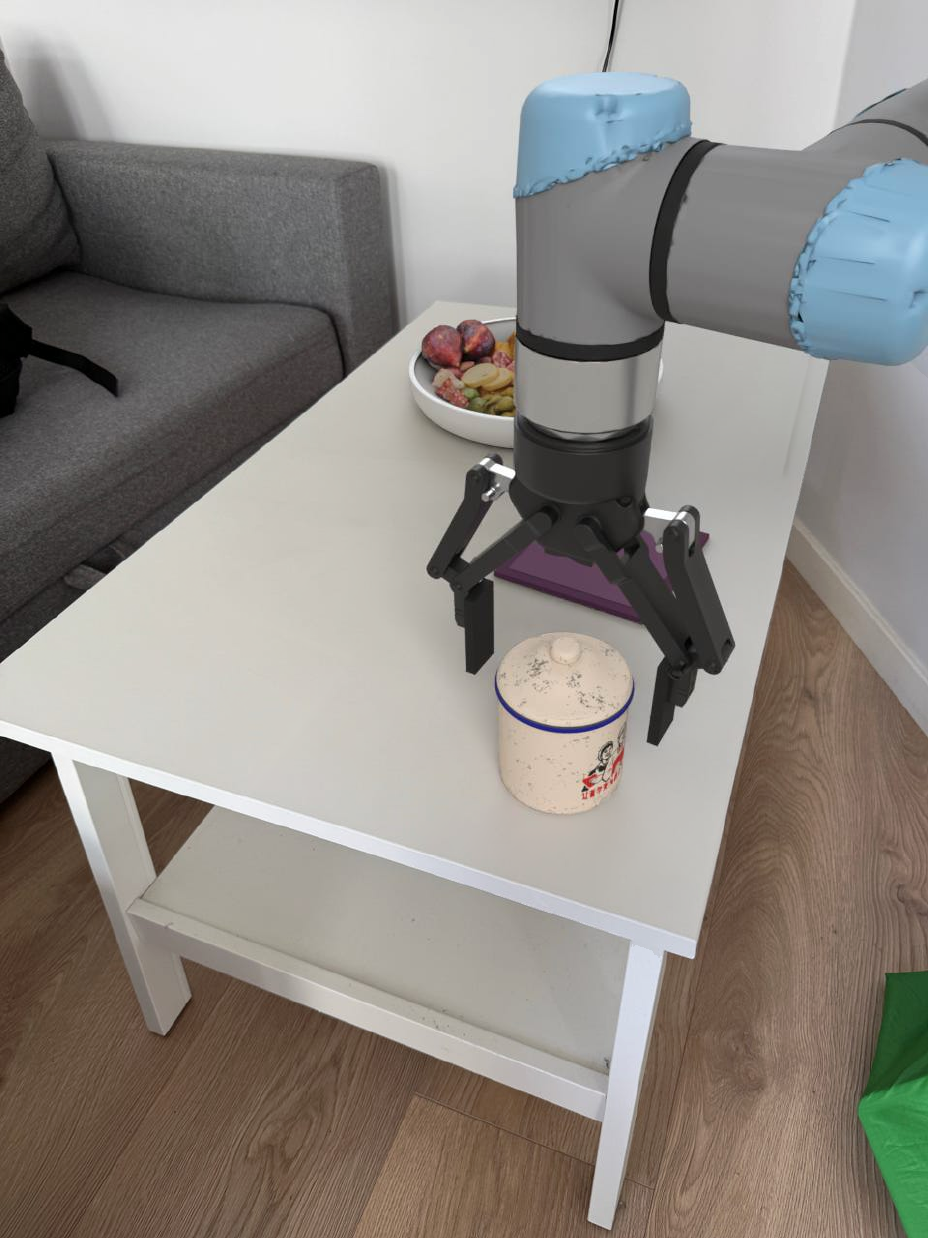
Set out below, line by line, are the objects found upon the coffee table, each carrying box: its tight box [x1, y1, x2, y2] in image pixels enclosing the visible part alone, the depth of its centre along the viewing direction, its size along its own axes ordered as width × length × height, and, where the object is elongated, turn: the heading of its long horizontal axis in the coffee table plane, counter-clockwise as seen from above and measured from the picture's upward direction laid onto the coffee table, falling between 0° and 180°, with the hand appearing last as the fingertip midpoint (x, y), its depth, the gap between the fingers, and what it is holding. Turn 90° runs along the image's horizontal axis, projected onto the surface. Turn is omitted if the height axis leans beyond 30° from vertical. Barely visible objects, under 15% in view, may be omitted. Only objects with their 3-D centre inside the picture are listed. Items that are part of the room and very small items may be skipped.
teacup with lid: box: [494, 631, 636, 815], centre depth 62 cm, size 12×9×12 cm
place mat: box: [493, 530, 710, 626], centre depth 85 cm, size 15×15×1 cm
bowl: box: [407, 316, 665, 449], centre depth 109 cm, size 30×30×8 cm
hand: (565, 695), depth 62 cm, fingers open, 13 cm apart
